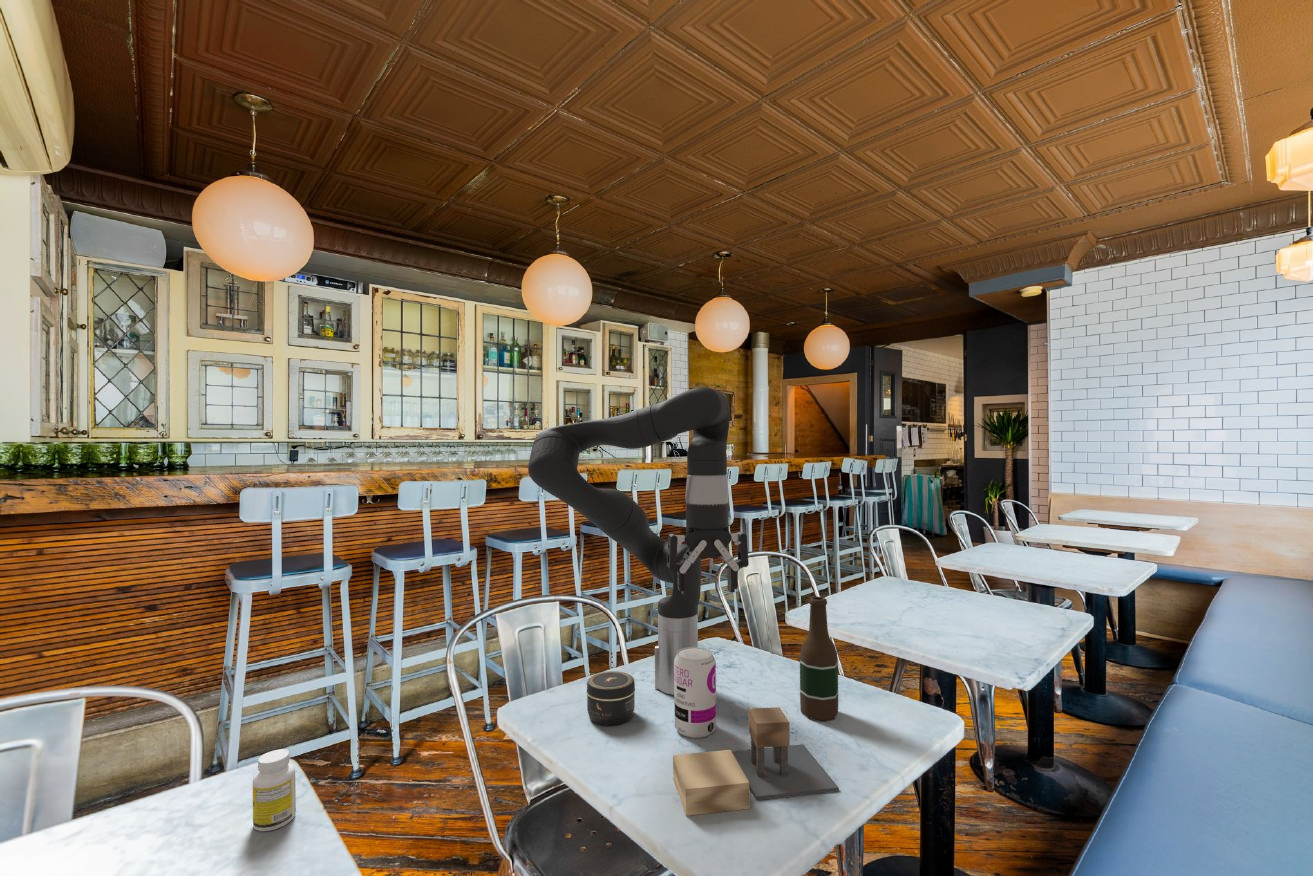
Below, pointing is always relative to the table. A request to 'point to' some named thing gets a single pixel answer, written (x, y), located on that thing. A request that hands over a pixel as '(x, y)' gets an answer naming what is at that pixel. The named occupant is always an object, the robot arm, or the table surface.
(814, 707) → the beer bottle
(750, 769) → the mat
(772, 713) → the stool
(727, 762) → the step
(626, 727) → the table surface
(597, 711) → the jar
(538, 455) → the robot arm
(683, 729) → the supplement can
